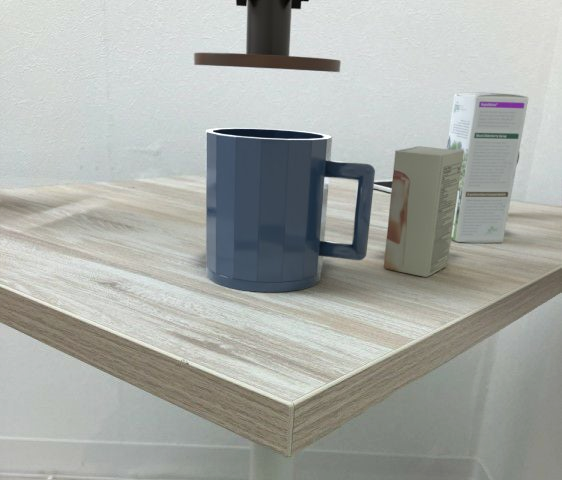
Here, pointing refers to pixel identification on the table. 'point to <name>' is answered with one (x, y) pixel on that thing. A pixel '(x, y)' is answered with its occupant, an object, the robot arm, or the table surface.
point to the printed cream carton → (422, 209)
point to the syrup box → (485, 161)
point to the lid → (268, 43)
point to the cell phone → (383, 185)
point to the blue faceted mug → (276, 208)
